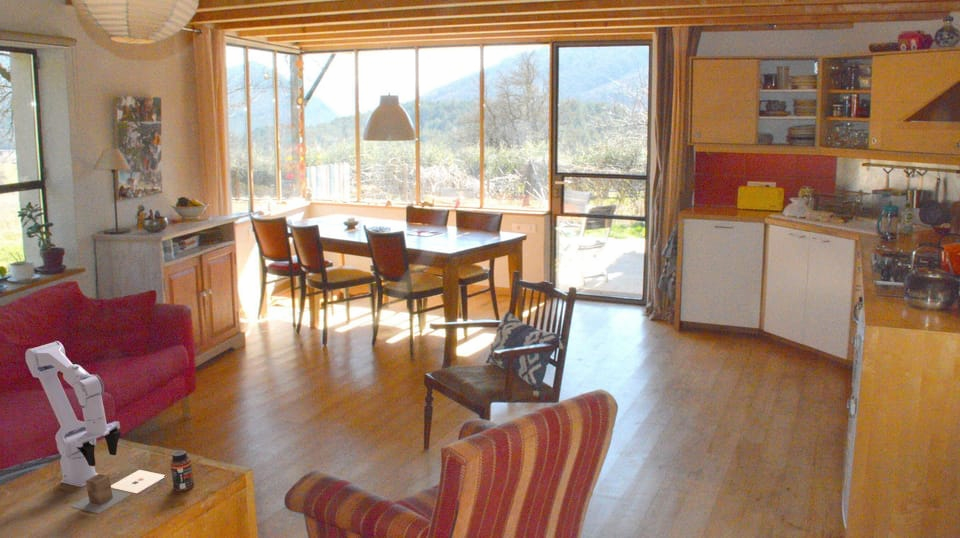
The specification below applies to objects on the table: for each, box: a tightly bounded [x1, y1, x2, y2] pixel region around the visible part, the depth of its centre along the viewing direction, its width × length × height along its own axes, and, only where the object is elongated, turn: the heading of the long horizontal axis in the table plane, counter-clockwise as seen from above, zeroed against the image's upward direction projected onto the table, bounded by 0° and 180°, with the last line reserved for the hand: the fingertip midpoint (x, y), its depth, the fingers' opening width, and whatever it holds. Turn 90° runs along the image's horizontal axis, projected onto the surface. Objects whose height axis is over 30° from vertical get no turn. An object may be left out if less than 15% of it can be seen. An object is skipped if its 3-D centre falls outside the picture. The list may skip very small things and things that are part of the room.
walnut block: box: [85, 473, 113, 505], centre depth 258 cm, size 4×4×7 cm
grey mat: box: [69, 488, 132, 515], centre depth 259 cm, size 12×12×1 cm
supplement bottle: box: [169, 449, 195, 492], centre depth 263 cm, size 6×6×11 cm
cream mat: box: [111, 469, 166, 494], centre depth 270 cm, size 12×12×1 cm
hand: (102, 459), depth 262 cm, fingers open, 7 cm apart
